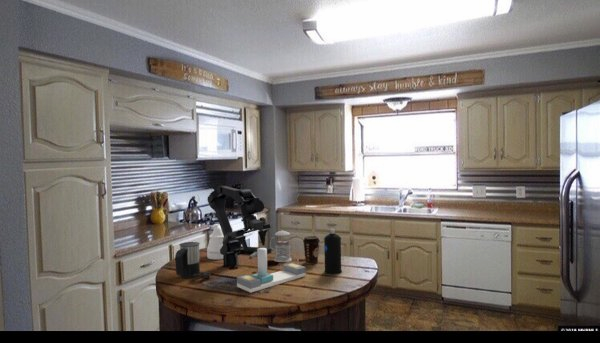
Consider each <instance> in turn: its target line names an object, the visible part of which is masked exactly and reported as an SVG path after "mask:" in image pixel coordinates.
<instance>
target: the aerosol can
mask: <svg viewBox="0 0 600 343" xmlns="http://www.w3.org/2000/svg"><path fill="white" fill-rule="evenodd" d="M329 231H330V232H329V233H328V234H326V235H325V237H323V240H324V241H323V242H324V243H323V244H324V247H323V248H324V273H326V274H328V275H338V274H341V273H342V271H343V270H342V237H341V236H340V235H339V234H337V233H335V232H336V230H335V228H330V230H329Z"/></svg>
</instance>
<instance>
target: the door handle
mask: <svg viewBox="0 0 600 343" xmlns="http://www.w3.org/2000/svg"><path fill="white" fill-rule="evenodd" d="M247 247H248V251H246V250H245V248H244V247H243V246H242V245H241V249H240V253H237V256H239V255H242V254H244V255H249V259H254V258H256V257H257V249H258V248H265V247H264V246H261V247H260V246H258V247H257V246H247ZM266 248H267V254H271V253H272V252H273V250H272V249H271V247H266Z"/></svg>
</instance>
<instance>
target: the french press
mask: <svg viewBox="0 0 600 343" xmlns="http://www.w3.org/2000/svg"><path fill="white" fill-rule="evenodd" d="M279 215H280V216H284V215H285V214H284V212H280V213H279ZM290 235H291V233H290V232H288V231H286V230H283V229H281V230H278V231H276V232H275V233H274V236H273V237H271V239H270V241H269V248H271V249H272V251H274V254H275V255H274V259H273V261H274V262H278V263H287V262H291V261H292V260H293V259H292V258H291V244H290V240H288V239H284V237H286V236H290ZM276 236H277V237H281V238H282V239H278V240H276ZM273 239H274V240H276V241H275V245H274V246H275V248H273V247H272V243H271V242H272V240H273Z"/></svg>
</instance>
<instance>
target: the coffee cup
mask: <svg viewBox="0 0 600 343" xmlns="http://www.w3.org/2000/svg"><path fill="white" fill-rule="evenodd" d="M302 241H303V250H304V259H305V264H307V265H315V264H317V263H319V262H318V261H319V250H320V245H319V243H320V241H321V240H320V238H319V237H318V236H316V235H315V236H314V235H310V236H309V235H308V236H305V237H304V239H303V240H302Z"/></svg>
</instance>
